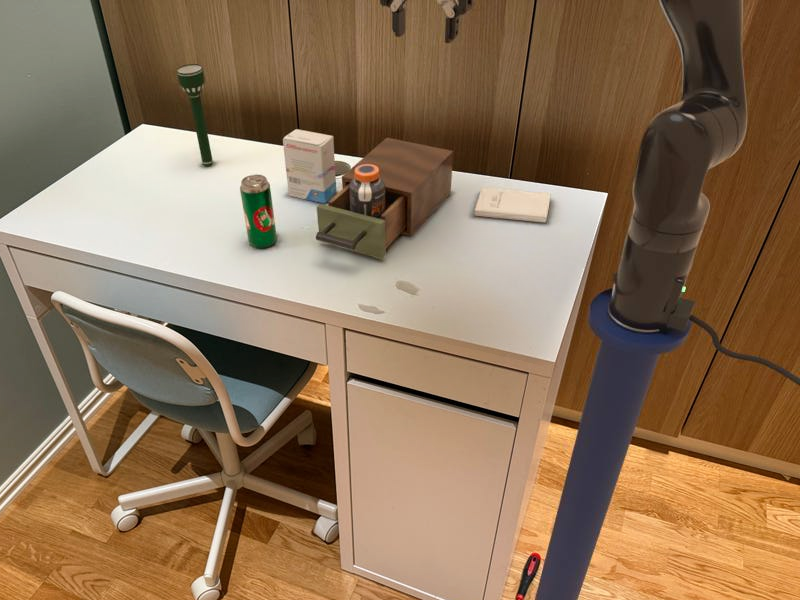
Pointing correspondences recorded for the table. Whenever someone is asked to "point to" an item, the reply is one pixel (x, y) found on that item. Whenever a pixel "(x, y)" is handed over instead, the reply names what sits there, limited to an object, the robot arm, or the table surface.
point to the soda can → (258, 211)
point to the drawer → (361, 224)
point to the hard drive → (513, 205)
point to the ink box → (310, 165)
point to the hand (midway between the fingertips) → (424, 38)
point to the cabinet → (411, 176)
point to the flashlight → (196, 105)
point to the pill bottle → (367, 192)
